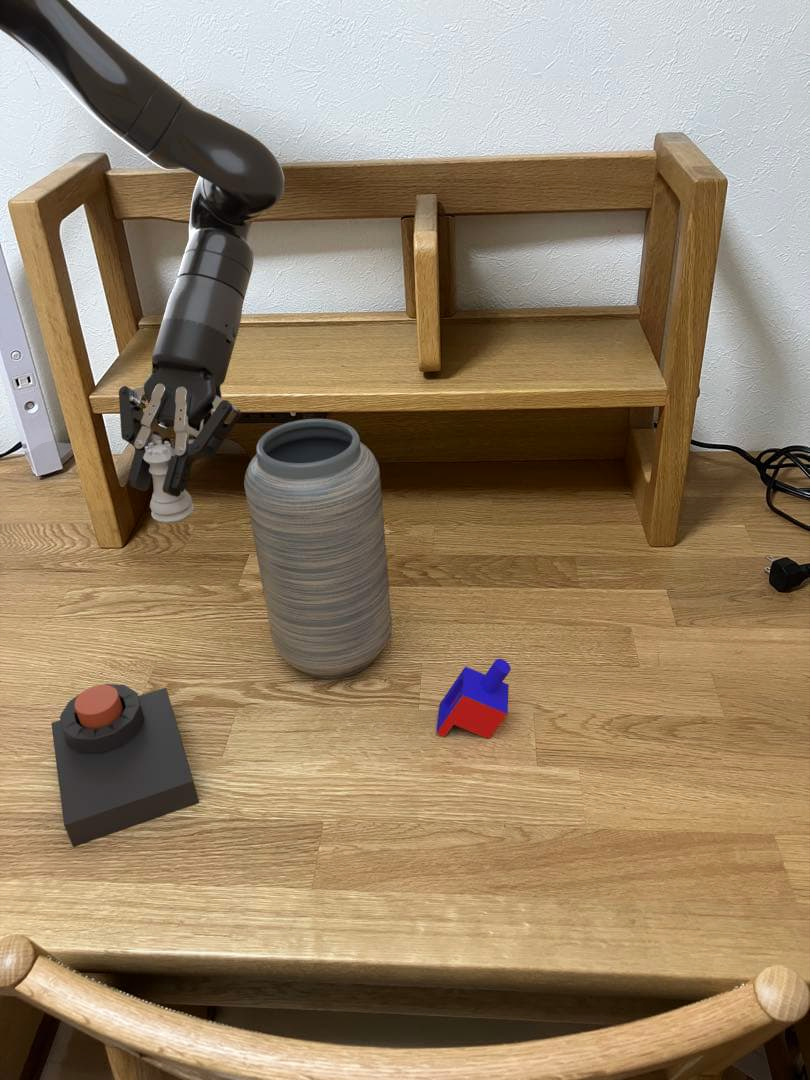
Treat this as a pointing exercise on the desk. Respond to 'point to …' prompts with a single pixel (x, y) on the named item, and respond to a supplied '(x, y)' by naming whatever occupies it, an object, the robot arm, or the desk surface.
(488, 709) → the toy building block
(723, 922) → the desk surface
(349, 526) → the vase
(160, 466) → the rook chess piece
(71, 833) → the button box
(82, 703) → the button
